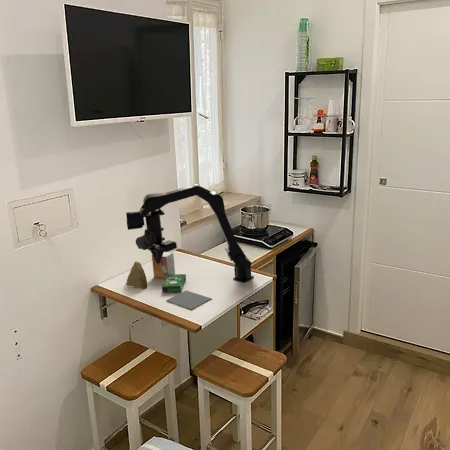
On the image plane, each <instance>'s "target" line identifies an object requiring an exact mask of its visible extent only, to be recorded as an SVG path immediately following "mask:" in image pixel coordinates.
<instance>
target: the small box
mask: <svg viewBox="0 0 450 450" xmlns="http://www.w3.org/2000/svg"><path fill="white" fill-rule="evenodd" d="M151 260H152V261H151V262H152V269H153V270H152V272H153V277H154V278H161V279H164V280H166V278H167V276H168V274H176V270H175V256H174V252H164V253H163V255H162V258H161V261H160V263H159V264H157V263H156V261H155V259H154V257H153V255H152V254H151Z"/></svg>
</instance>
